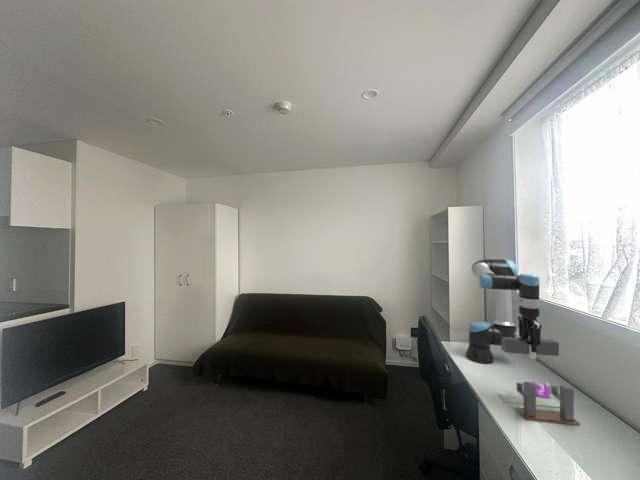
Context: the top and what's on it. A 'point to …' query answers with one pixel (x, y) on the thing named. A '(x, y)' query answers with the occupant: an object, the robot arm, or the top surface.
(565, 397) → the hook rack
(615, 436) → the top surface
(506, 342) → the rail
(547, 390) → the bracket
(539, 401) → the mat
